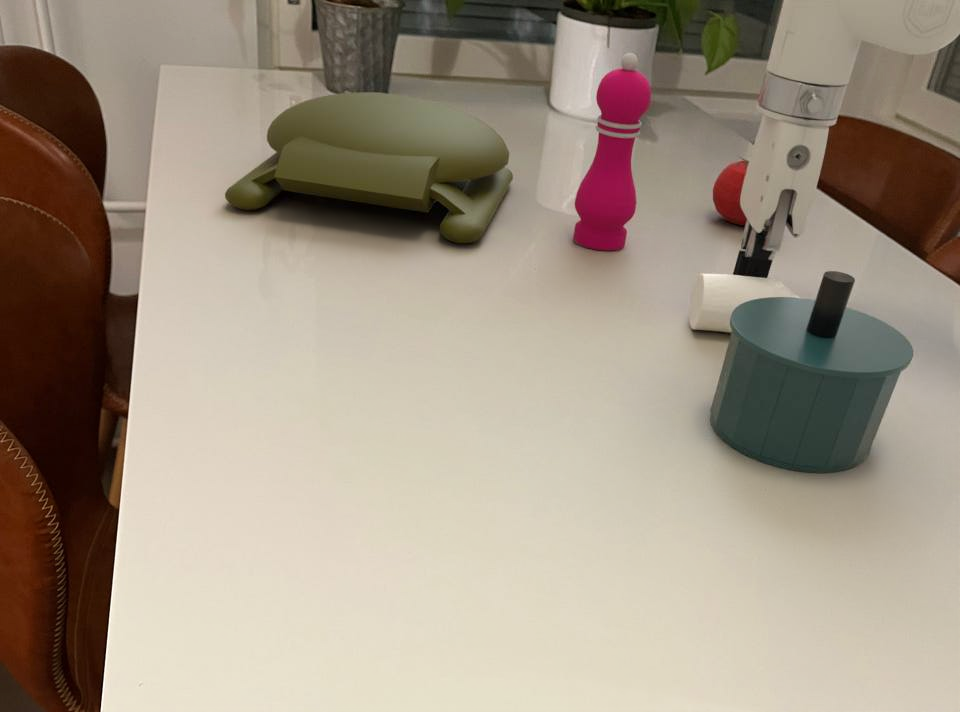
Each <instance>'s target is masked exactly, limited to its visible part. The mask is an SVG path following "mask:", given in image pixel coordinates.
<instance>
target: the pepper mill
mask: <svg viewBox="0 0 960 712" xmlns="http://www.w3.org/2000/svg"><path fill="white" fill-rule="evenodd" d="M638 64H639V60H638V57H637V55H636V54H634V53H633V52H627V53H625V54H624V55H623V57H622V58H621V63H620V65H621V68H616V69H613V70H610V71H609V72H607V73H605V75H604V76H603V78H601V80H600V82H599V84H598V87H597V90H596V95H595V97H596V98H595V99H596V104H597V107H598V109H599V111H600V115H598V116H597V118H596V120H597V123H596V127H595V131H597V132H598V139H597V146H596V151H595V154H594V157H593V160H592V163H591V164H590V166H589V168H588V170H587V172H586V173H585V175H584V177H583V178H582V181H581V182H580V183H579V186H578V189H577V192H576V194H575V198H574V209H575V211H576V214H577V216H578V217H579V218H580V219H579V220H578V221H576V222H575V225H574V232H573V240H574V242H575V243H577V244H578V245H579V246H581V247H584V248H587V249H590V250H594V251H603V252H604V251H605V252H612V251H618V250H619V251H620V250H621V249H622V248H624V247H625V245H626V240H627V235H628V230H627V228H626V227H625V226H626V224H628V222H630V221H631V219H633V217H634V215H635V213H636V208H637V191H636V186H635V181H634V177H633V171H632V157H633V150H634V144H635V142H636V138H638V137H639V136H640V135H641V131H640V130H641V127H642V121H641V120H640V118H641V117H642V116H643V115H644V114H645V113H646V112H647V111H648V109H649V107H650V104H651V100H652V89H651V88H652V87H651V85H650V82H649V80H648V78H647V76H645V75H644V74H643V73H642V72H640V71H638V70H636V69H637V67H638Z"/></svg>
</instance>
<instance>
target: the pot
mask: <svg viewBox="0 0 960 712" xmlns="http://www.w3.org/2000/svg"><path fill="white" fill-rule="evenodd" d="M901 372H902V371H901ZM901 372H899V373H896V374H894V375H890V376H885V377H879V378H844V377H836V376H828V375H823V374H817V373H813V372H809V371H805V370H801V369H797V368H794V367H791V366H788V365H785V364H782V363H779V362H777V361H774V360H772V359H770V358H768V357H765V356H763V355H761V354H759V353H758V352H756V351H754V350H752V349H751V348H749V347H748V346H746V345H745V344H744V343H743V342H741V341H740V340H739V339H738V338H737V337H736V336H735V335H734V333H733V331H732V333H731V332H730V337H729V341H728V344H727V347H726V351H725V356H724V358H723V363H722V366H721V370H720V373H719V377H718V381H717V384H716V389H715V392H714V396H713V400H712V404H711V407H710V411H709V413H710V415H709V416H710V418H709V421H710V425H711V427H712V428H713V431H714V433H715V434H716V435H717V436H718V437H719V438H720V439H721V440H722V441H723V442H725V443H726V445H728V446H730V447H731V448H733V449H734V450H735V451H737V452H739V453H741V454H743V455H745V456H747V457H749V458H751V459H753V460H756V461H759V462H760V463H764V464H766V465H770V466H773V467H777V468H781V469H786V470H790V471H794V472H795V471H796V472H803V473H820V474H821V473H823V474H826V473H827V474H828V473H836V472H842V471H846V470H850V469H853V468H854V467H856V466H859V465H860V464H861V463H862V462H863V461H864V460H865V459H866V458H867V457H868V455H870V451H871V450H872V447H873V443H874V441H875V439H876V436H877V433H878V431H879V429H880V426H881V424H882V420H883V418H884V415H885V414H886V410H887V408H888V406H889V403H890V400H891V398H892V395H893V393H894V390H895V388H896V385H897V383H898V380H899V378H900V375H901Z"/></svg>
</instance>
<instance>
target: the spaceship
mask: <svg viewBox="0 0 960 712" xmlns="http://www.w3.org/2000/svg"><path fill="white" fill-rule="evenodd" d="M266 132H267V133H266V142H267V144H268V145H269V147H270V148H271V149H272V150H274V151H275V152H274V153H273V154H272V155H271V156H269V157H268V158H267V159H266V160H264V161H263V162H261V163H260V164H259V165H258V166H256V167H255V168H253V169H252V170H251V171H250V172H248V173H247V174H246V175H244V176H243V177H241V178H240V179H239V180H237V181H236V182H235V183H234V184H233V185H232V184H231V186H229V187H228V188H227V189H226V191H225V193H224V198H225V200H226V201H227V202H228V204H229V205H231V206H233V207H234V208H237V209H240V210H246V211H254V210H258V209H261V208H263V207H265V206H267V204H269V203H270V202H271V201H272V200H274V199H275V198H276V197H277V196H278V195H279V194H281V193H282V192H283V191H285V192H291V193H297V194H303V195H304V194H305V195H312V196H317V197H324V198H330V199H336V200H342V201H350V202H356V203H364V204H369V205H377V206H381V207H387V208H393V209H394V208H395V209H401V210H408V211H415V212H420V213H421V212H422V213H428V212H429V211H430V210H431V208H432V207H433V206H434V204H435V203H436V201H437V202H439V203H440V205H442V206H443V207H445V208H446V209H447V210H448V211H447V214H446V215H445V216H444V218H443V219H442V221H441V223H440V224H439V232H440V234H441V235H442V237H444V238H445V239H447V240H448V241H450V242H453V243H456V244H464V245H465V244H471V243H474V242H477V241H478V240H480V239H481V238H482V237H483V235H484V233H485V231H486V230H487V227H488V226H489V223H490V222H491V220H492V218H493V216H494V214H495V213H496V211H497V209H498V207H499V206H500V204H501V202H502V200H503V198H504V196H505V194H506V193H507V190H508V189H509V187H510V185H511V183H512V181H513V178H514V175H513V172H512V171H511V170H510V169H509V168H508V167H506V166H507V165H508V164H509V159H510V150H509V149H508V146H507V144H506V142H505V140H504V138H503V137H502V136H501V135H500V134H499V133H498V132H497V131H496V130H495V129H494V128H493V127H492V126H491V125H489V124H488V123H486V122H485V121H483V120H482V119H480V118H478V117H476V116H475V115H473V114H472V113H469V112H467V111H465V110H462V109H459V108H457V107H455V106H452V105H449V104H446V103H443V102H440V101H436V100H433V99H428V98H418V97H414V96H409V95H403V94H394V93H387V92H375V91H373V92H372V91H368V92H367V91H365V92H363V91H362V92H360V91H359V92H341V93H340V92H339V93H335V94H328V95H324V96H318V97H314V98H311V99H307V100H304V101H302V102H300V103H297V104H295V105H292V106H290V107H288V108H286V109H285V110H284V111H282V112H281V113H280V114H278V115H277V116H276V117H275V118H274V119H273V120H272V121H271V123H270V125H269V127H268V129H267V131H266ZM462 181H467V183H466V185H465V186H464V188H463V189H462V190H460V188H458V187H456V185H454V184H453V182H462Z"/></svg>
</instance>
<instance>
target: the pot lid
mask: <svg viewBox="0 0 960 712" xmlns="http://www.w3.org/2000/svg"><path fill="white" fill-rule="evenodd" d="M855 282H856V279H855V277H854V276H852V275H851V274H848V273H845V272H842V271H837V270H828V271H825V272H824V273H823V275H822V279H821V281H820V285H819V288H818V291H817V294H816V298H815V299H810V298H804V299H803V297H801V298H792V297H769V298H760V299H754V300H750V301H747V302H745V303H742V304H740V305H739V306H737V307H736V308H735V309H734V310H733V312H732V314H731V317H730V327H731V330H732V331H733V333H734V335H735V336H736V337H737V338H738V339H739V340H740V341H741V342H743V343H744V344H745V345H746V346H748V347H749V348H751V349H752V350H754V351H756V352H758V353H759V354H761V355H763V356H765V357H768V358H770V359H772V360H774V361H777V362H779V363H782V364H785V365H788V366H791V367H794V368H797V369H801V370H805V371H809V372H813V373H817V374H823V375H828V376H836V377H844V378H879V377H885V376H890V375H894V374H896V373H899V372H903V371H904V370H906V369H907V368H908V367H909V366H910V365H911V362H912V361H913V358H914V347H913V345H912V344H911V341H910V340H909V339H907V337H906V335H904V334H903V333H902V332H900V331H899V330H897V329H896V328H895V327H894V326H892V325H890V324H888V323H887V322H885V321H882V320H881V319H879V318H877V317H875V316H872V315H870V314H868V313H865V312H863V311H859V310H857V309H853V308H851V307H847V305H848V302H849V300H850V297H851V293H852V290H853V288H854V285H855Z"/></svg>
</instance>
